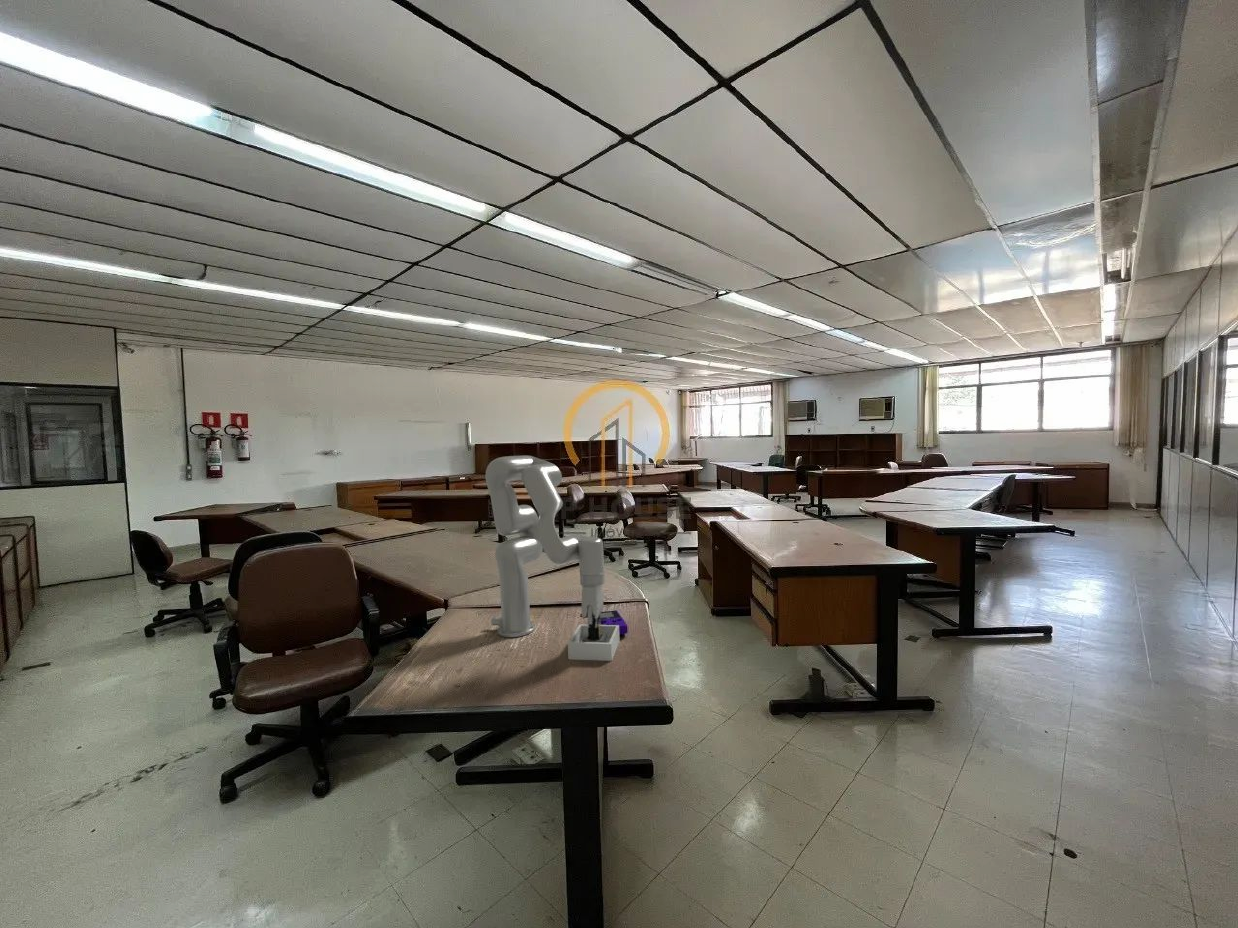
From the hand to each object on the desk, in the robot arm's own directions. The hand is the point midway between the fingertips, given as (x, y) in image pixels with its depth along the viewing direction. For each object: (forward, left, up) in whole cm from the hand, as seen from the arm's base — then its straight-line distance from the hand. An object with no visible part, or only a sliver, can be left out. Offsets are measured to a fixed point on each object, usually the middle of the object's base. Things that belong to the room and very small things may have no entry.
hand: (595, 637), depth 145 cm
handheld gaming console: (+2, +15, -4) cm, 15 cm away
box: (0, 0, -4) cm, 4 cm away
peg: (0, 0, -3) cm, 3 cm away
